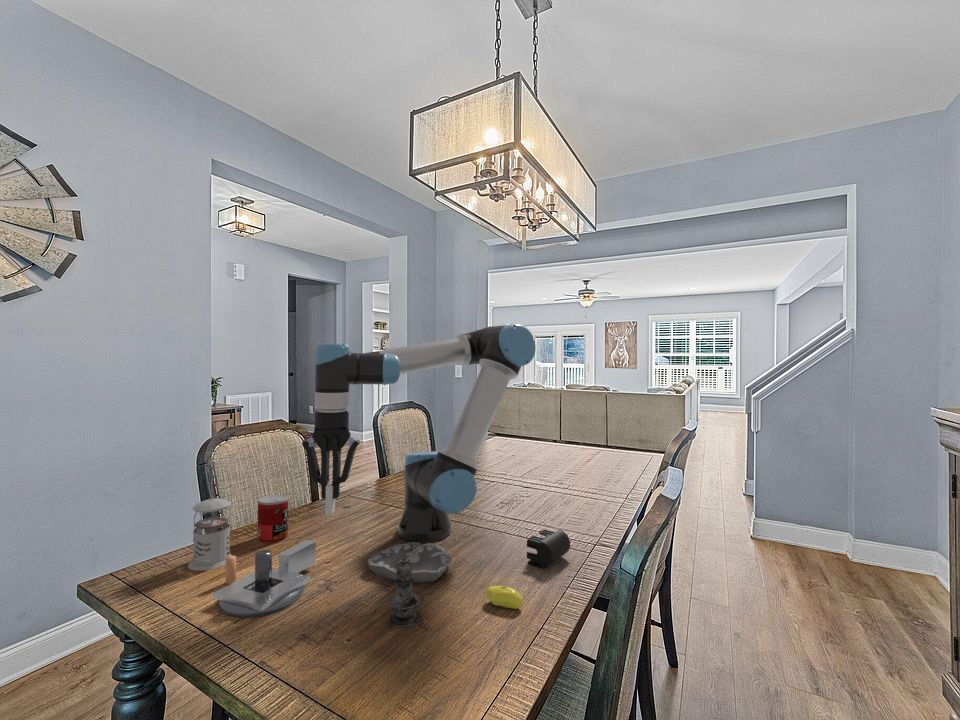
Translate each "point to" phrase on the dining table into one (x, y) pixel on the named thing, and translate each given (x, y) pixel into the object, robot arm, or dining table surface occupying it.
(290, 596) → the post base
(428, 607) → the dining table surface
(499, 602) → the lemon
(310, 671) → the dining table surface
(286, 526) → the canned food
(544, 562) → the end cap
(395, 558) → the brain slice
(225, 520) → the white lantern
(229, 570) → the dowel
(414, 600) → the dark grey chess piece
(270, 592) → the grey plastic holder
